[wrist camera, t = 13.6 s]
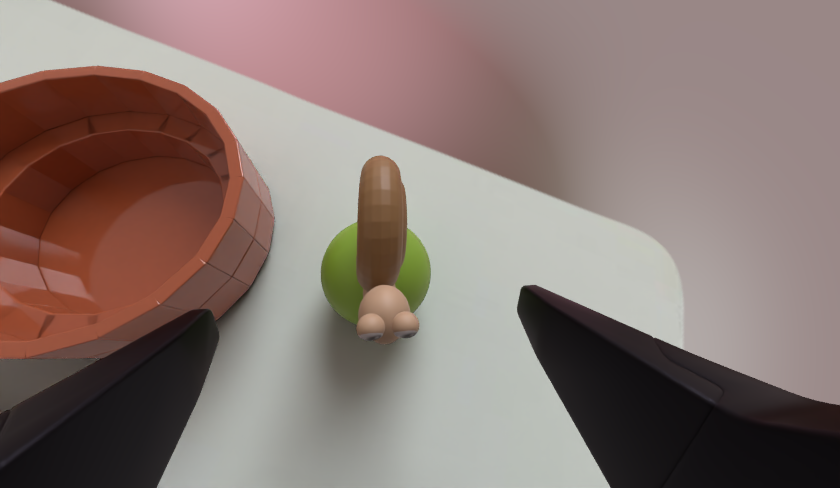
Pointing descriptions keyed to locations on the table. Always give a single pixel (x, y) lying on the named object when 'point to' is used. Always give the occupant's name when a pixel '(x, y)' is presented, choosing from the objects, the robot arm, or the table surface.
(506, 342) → the table surface
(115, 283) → the bowl
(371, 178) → the snail figurine
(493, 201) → the table surface
